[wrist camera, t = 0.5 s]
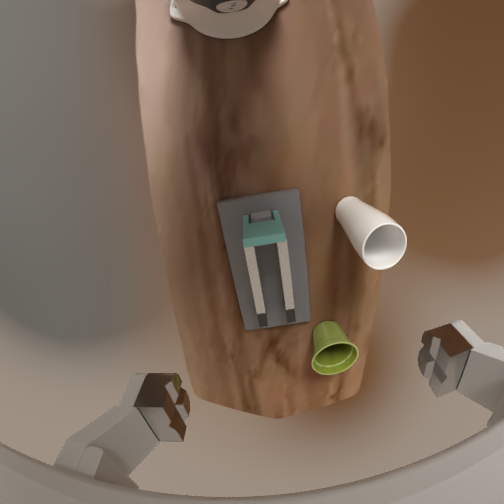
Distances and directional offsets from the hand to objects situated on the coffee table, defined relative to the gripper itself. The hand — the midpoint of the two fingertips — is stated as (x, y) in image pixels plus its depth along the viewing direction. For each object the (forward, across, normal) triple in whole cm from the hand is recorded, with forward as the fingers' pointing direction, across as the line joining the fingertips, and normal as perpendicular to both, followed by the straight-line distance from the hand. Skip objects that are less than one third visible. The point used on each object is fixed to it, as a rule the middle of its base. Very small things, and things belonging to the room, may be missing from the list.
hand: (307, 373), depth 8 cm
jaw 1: (+40, +4, +14) cm, 42 cm away
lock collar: (+38, +1, +4) cm, 38 cm away
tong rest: (+41, +1, +14) cm, 43 cm away
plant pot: (+43, -9, +30) cm, 54 cm away
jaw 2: (+40, -2, +14) cm, 42 cm away
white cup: (+40, -14, +5) cm, 43 cm away
